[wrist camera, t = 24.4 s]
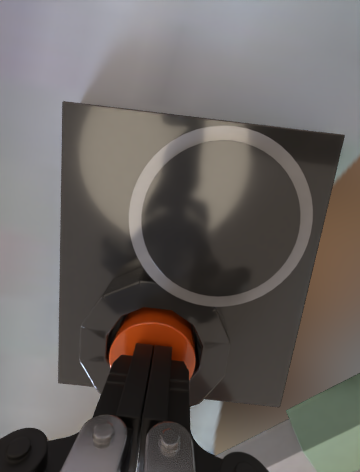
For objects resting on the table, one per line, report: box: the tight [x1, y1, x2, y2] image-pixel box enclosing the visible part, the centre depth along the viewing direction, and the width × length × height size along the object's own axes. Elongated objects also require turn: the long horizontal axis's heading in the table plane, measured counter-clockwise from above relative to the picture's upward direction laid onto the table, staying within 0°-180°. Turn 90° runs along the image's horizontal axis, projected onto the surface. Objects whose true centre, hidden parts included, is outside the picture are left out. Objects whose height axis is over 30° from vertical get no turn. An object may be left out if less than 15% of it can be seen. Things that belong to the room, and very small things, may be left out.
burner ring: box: [129, 126, 313, 307], centre depth 11 cm, size 7×7×1 cm
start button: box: [109, 307, 196, 380], centre depth 13 cm, size 4×4×2 cm
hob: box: [58, 101, 345, 407], centre depth 13 cm, size 14×12×4 cm
